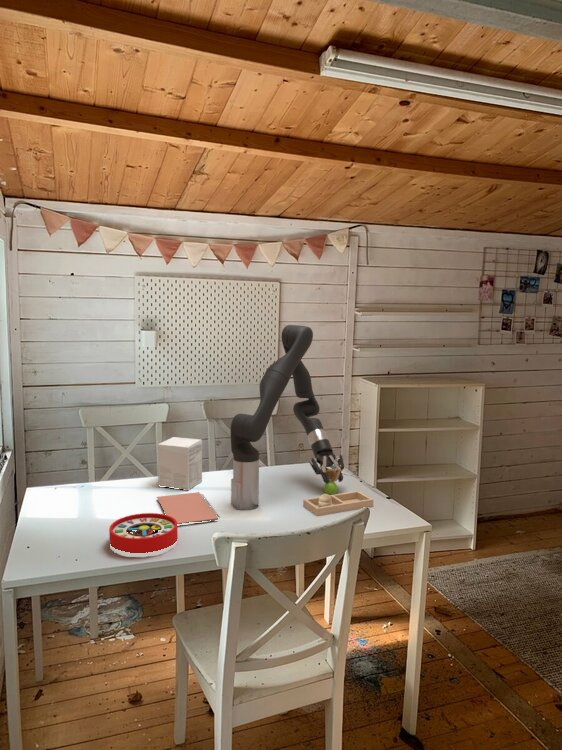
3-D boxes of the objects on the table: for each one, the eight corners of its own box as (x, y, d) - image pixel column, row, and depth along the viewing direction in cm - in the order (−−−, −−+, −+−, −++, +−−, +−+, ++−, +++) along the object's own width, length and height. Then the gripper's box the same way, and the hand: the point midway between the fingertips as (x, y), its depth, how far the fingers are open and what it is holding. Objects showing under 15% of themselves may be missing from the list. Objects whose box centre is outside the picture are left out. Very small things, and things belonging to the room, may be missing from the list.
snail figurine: (340, 498, 214) (341, 467, 212) (323, 497, 214) (324, 466, 212) (339, 493, 219) (340, 463, 218) (322, 492, 219) (323, 462, 218)
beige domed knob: (322, 511, 197) (322, 496, 197) (316, 507, 201) (316, 492, 201) (333, 509, 199) (334, 495, 198) (327, 505, 203) (327, 491, 203)
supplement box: (203, 481, 231) (202, 439, 229) (188, 491, 218) (188, 447, 216) (173, 477, 235) (173, 436, 233) (157, 487, 222) (156, 443, 220)
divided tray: (316, 518, 193) (317, 508, 193) (303, 508, 202) (303, 499, 202) (373, 509, 203) (373, 499, 203) (357, 499, 212) (358, 490, 212)
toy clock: (174, 510, 184) (180, 535, 164) (174, 528, 184) (180, 554, 165) (110, 515, 178) (108, 542, 159) (110, 533, 179) (108, 562, 160)
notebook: (221, 522, 190) (221, 516, 190) (170, 529, 184) (170, 523, 184) (201, 496, 215) (201, 491, 215) (156, 501, 209) (156, 496, 209)
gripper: (306, 440, 217) (321, 479, 208) (339, 436, 224) (354, 474, 214) (300, 450, 223) (314, 489, 214) (331, 446, 229) (346, 484, 220)
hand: (334, 481), depth 214 cm, fingers closed on snail figurine, 5 cm apart
